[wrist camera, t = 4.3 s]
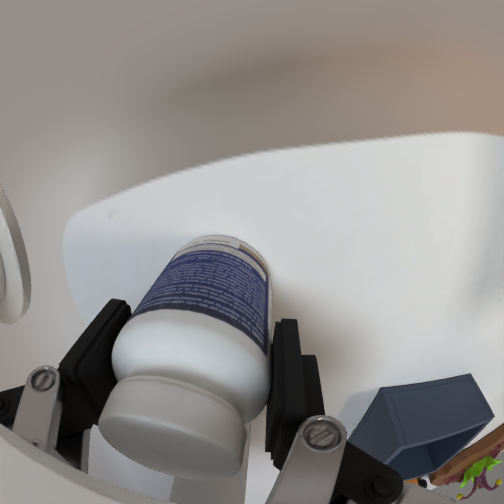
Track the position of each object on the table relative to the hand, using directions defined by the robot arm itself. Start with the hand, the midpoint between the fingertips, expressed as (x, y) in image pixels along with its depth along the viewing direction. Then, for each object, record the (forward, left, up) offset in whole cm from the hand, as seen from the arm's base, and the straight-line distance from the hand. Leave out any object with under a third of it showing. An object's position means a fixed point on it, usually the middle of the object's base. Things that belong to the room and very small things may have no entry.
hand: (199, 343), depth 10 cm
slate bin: (+17, -13, -5) cm, 22 cm away
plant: (+47, -36, -5) cm, 60 cm away
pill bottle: (0, 0, -5) cm, 5 cm away
